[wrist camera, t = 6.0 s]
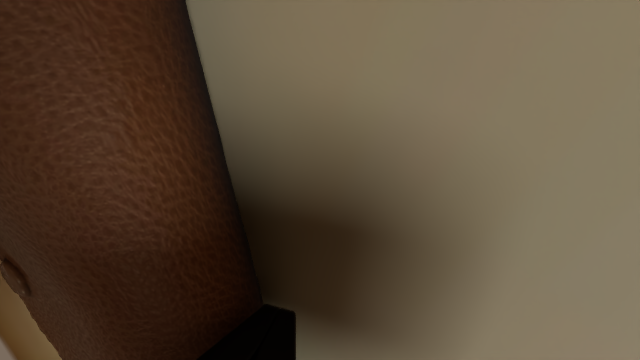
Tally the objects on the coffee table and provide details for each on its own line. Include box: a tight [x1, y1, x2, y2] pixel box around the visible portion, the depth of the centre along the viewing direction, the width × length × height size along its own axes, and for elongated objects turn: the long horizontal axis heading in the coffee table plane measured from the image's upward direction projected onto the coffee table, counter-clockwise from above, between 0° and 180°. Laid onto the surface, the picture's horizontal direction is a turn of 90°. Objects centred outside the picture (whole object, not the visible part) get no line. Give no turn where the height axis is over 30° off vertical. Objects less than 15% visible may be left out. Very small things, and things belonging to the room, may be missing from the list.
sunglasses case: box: [0, 0, 263, 360], centre depth 10 cm, size 18×7×7 cm, turn 9°
